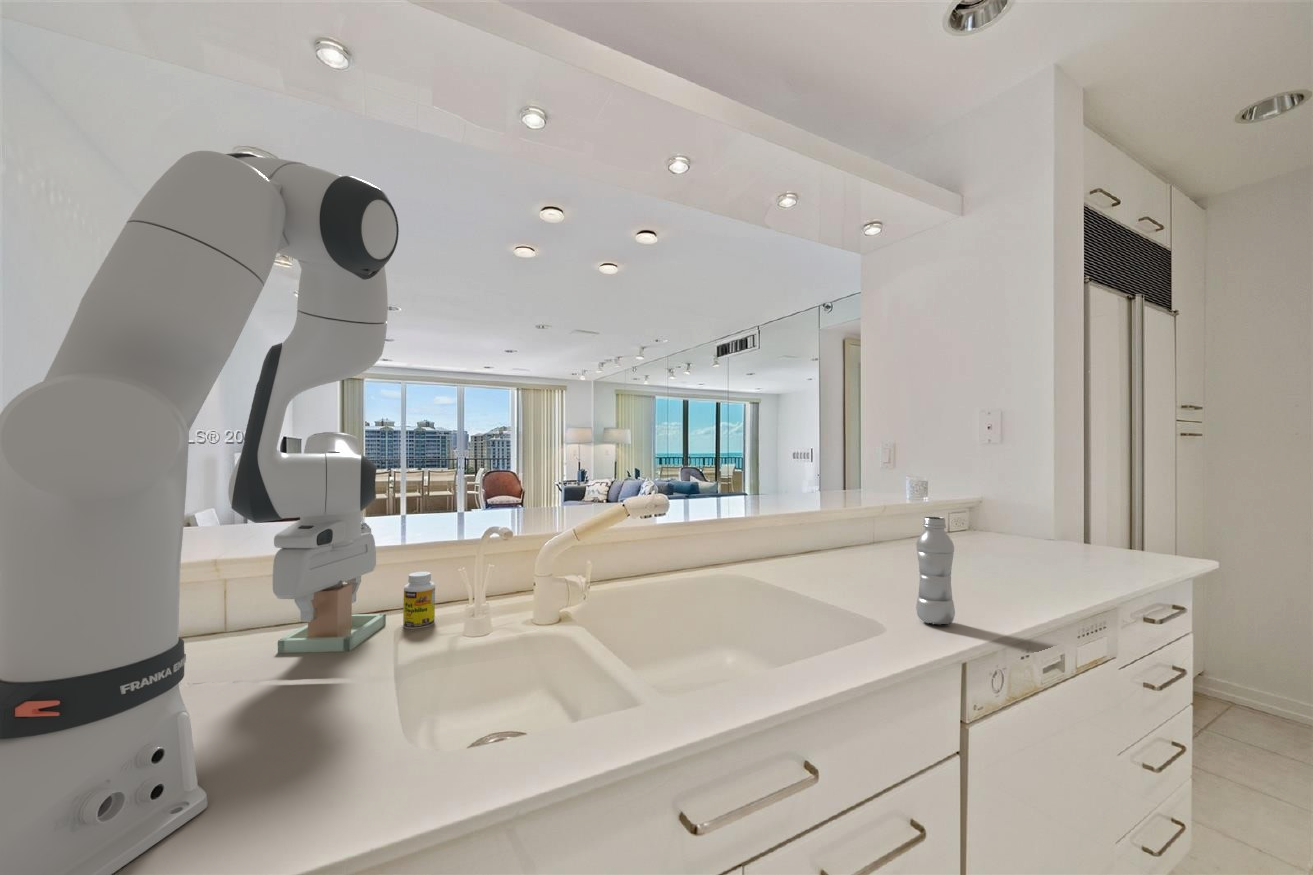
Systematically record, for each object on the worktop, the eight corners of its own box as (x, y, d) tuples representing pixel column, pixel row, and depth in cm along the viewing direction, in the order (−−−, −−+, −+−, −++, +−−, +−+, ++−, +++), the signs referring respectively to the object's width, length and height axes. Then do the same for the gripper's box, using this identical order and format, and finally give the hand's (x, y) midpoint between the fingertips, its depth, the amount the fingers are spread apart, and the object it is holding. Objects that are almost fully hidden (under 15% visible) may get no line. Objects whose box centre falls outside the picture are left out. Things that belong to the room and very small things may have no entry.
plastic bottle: (908, 621, 101) (907, 516, 101) (932, 616, 104) (931, 515, 104) (938, 631, 95) (937, 520, 96) (963, 626, 98) (962, 518, 98)
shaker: (336, 646, 86) (337, 583, 86) (307, 647, 85) (308, 584, 86) (351, 636, 90) (352, 577, 90) (323, 637, 90) (324, 577, 90)
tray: (349, 654, 84) (350, 639, 84) (277, 656, 83) (277, 640, 83) (385, 627, 97) (385, 613, 97) (323, 628, 96) (323, 615, 96)
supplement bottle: (398, 632, 94) (399, 577, 94) (408, 622, 99) (409, 570, 100) (429, 631, 95) (430, 576, 95) (438, 621, 100) (438, 570, 100)
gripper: (354, 520, 99) (352, 594, 99) (264, 538, 79) (262, 631, 78) (386, 521, 98) (384, 595, 98) (304, 539, 78) (302, 632, 78)
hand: (329, 611), depth 88 cm, fingers open, 8 cm apart
